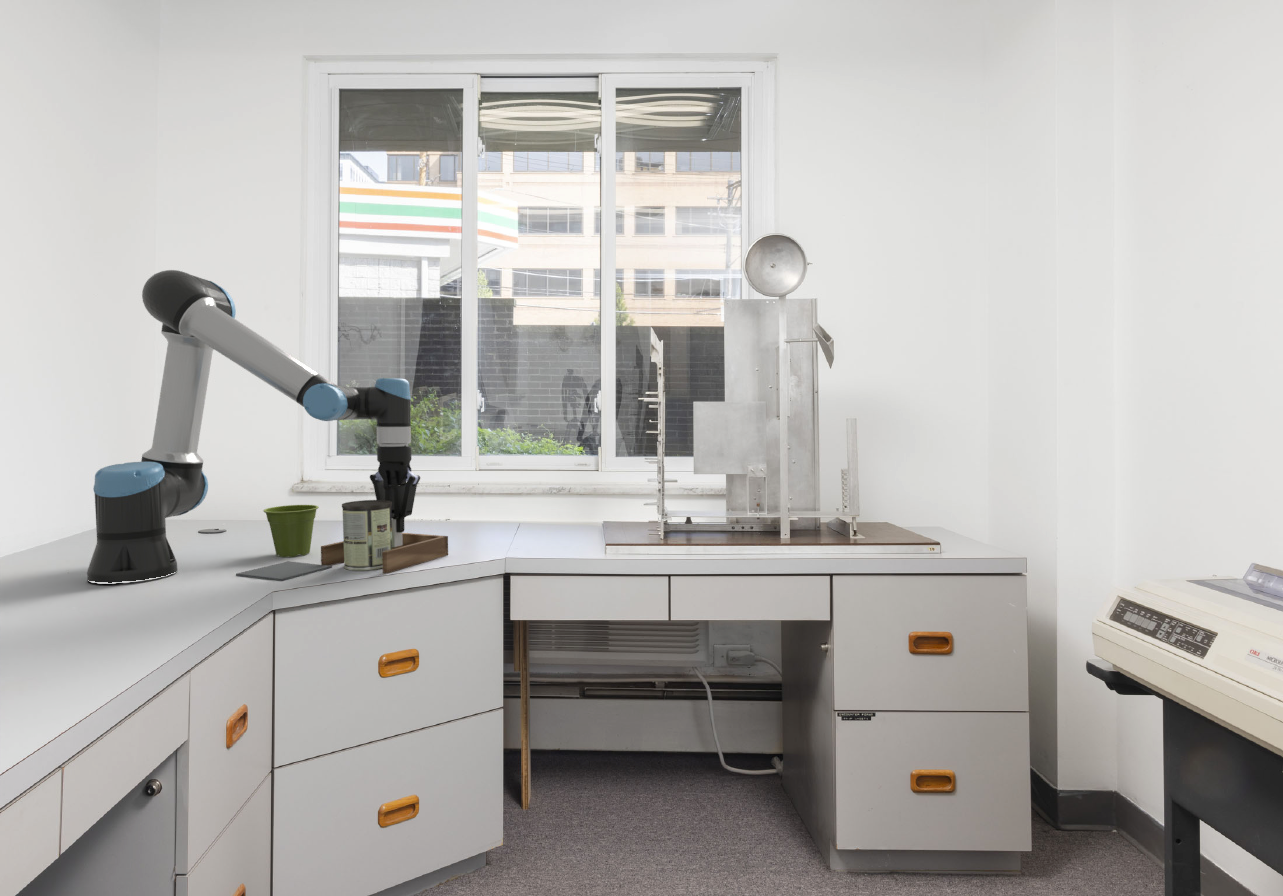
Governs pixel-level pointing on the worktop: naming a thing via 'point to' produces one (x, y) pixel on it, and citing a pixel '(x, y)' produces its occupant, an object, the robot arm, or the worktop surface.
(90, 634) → the worktop surface
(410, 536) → the frame
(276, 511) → the plant pot
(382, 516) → the coffee can
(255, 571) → the slate mat
